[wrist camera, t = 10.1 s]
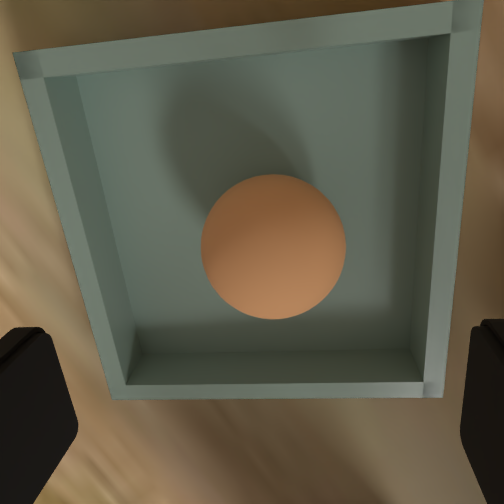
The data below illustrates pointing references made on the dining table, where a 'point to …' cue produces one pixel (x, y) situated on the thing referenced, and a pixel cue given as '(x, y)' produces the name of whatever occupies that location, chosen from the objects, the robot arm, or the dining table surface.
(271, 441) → the dining table surface
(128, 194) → the tray
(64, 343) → the dining table surface
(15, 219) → the dining table surface
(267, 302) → the ball
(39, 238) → the dining table surface
